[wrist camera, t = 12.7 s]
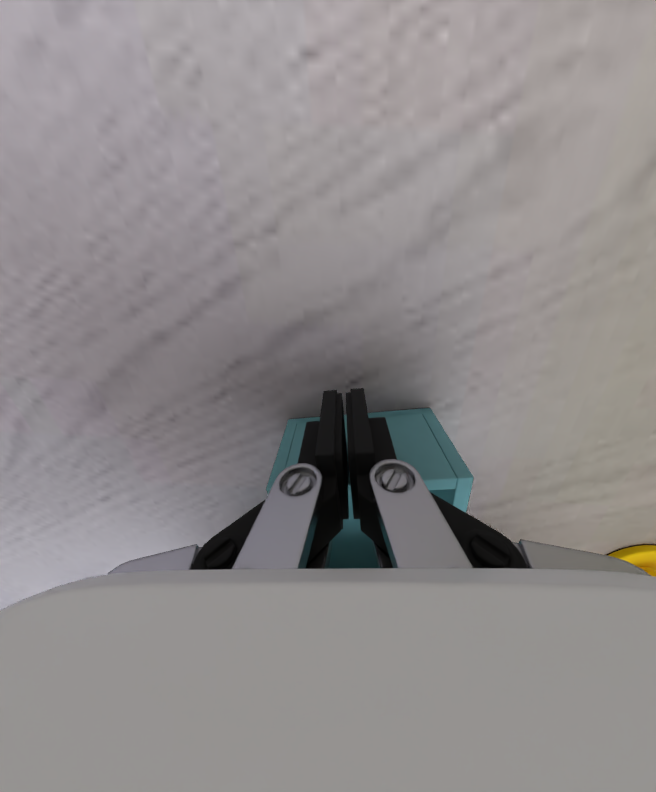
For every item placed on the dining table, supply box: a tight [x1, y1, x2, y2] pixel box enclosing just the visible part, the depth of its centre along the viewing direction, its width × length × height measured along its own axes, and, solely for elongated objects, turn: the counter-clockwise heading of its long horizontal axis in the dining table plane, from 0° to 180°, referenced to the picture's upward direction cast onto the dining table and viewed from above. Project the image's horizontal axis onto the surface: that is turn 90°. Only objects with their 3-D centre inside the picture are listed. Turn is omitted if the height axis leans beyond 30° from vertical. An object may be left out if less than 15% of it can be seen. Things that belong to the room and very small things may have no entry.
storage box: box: [266, 408, 474, 569], centre depth 16 cm, size 18×8×5 cm, turn 7°
